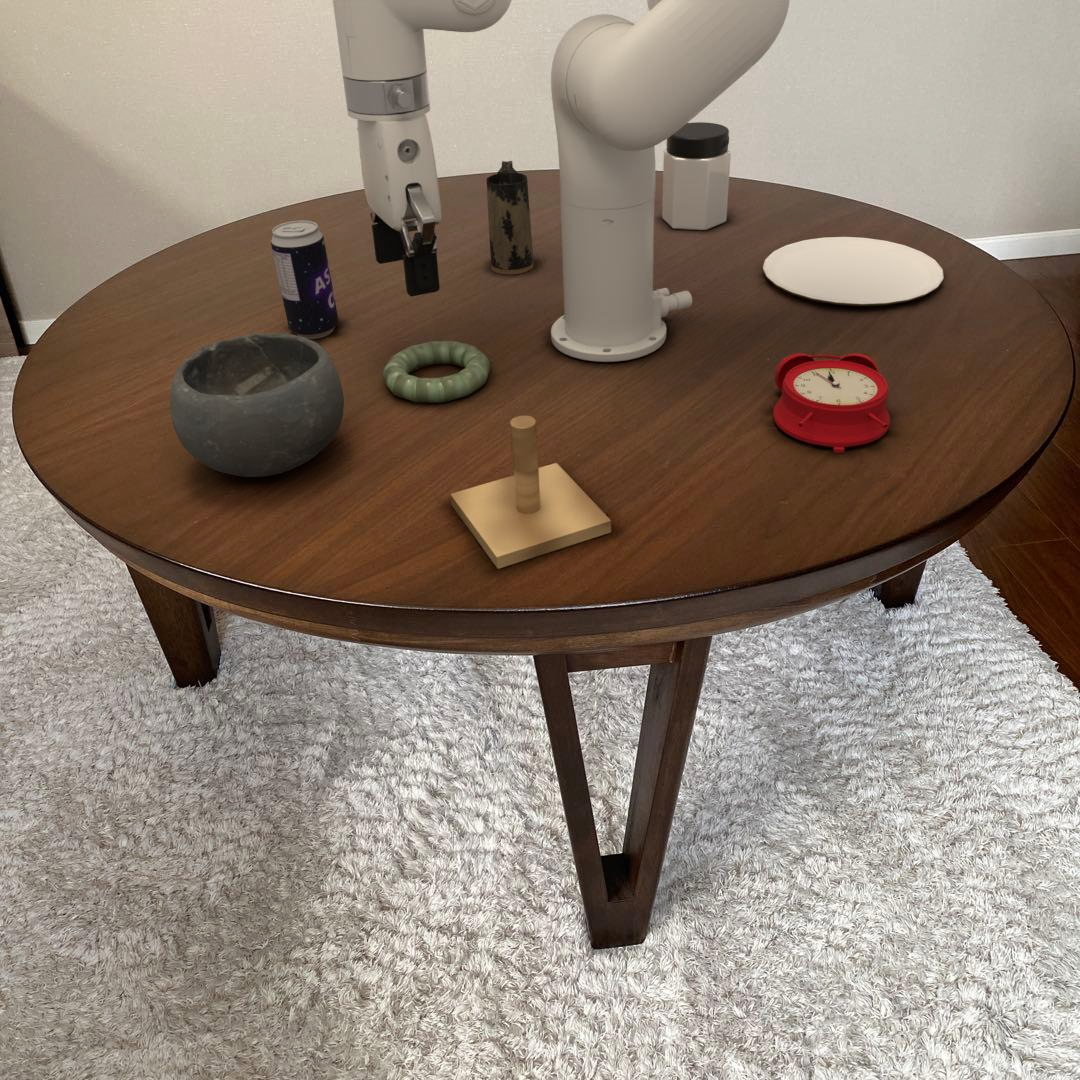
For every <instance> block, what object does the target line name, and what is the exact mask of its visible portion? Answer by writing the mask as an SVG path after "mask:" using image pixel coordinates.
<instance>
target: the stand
mask: <svg viewBox="0 0 1080 1080" xmlns="http://www.w3.org/2000/svg"><path fill="white" fill-rule="evenodd" d="M509 426H510V439H511V442H510V443H511V454H512V468H513V475H510V476H507V477H503V478H500V479H496V480H493V481H490V482H486V483H483V484H479V485H476V486H473V487H469V488H466V489H463V490H459V491H456V492H452V493H450V495H449V496H450V504H451V506H452V508H453V510H454V511H455V513H456V514H457V515H458V516H459V518H460V519H461V520H462V522H463V523H464V524H465V526H466V527H467V529H468V530H469V531H470V533H471V534H472V535H473V537H474V538H475V539H476V541H477V543H478V544H479V545H480V546H481V548H482V550H483V551H484V552H485V554H486V555H487V556H488V558H489V559H490V560H491V562H492V563H493V564H494V566H495V567H496V569H497V570H499V569H502V568H505V567H508V566H511V565H514V564H518V563H521V562H523V561H527V560H529V559H534V558H536V557H539V556H542V555H545V554H549V553H551V552H555V551H558V550H561V549H565V548H567V547H570V546H573V545H576V544H579V543H583V542H585V541H589V540H592V539H594V538H595V539H596V538H599V537H601V536H604V535H608V534H611V533H612V520H611V519H610V518H609V517H608V516H607V515H606V513H604V511H602V509H601V508H600V507H599V506H598V505H597V504H596V503H595V502H594V501H593V500H592V499H591V498H590V497H589V495H588V494H586V492H585V491H584V490H583V489H582V488H581V487H580V486H579V485H578V484H577V483H576V482H575V481H574V480H573V478H572V477H571V476H570V475H569V474H568V473H567V471H565V470H564V469H563V468H562V466H560V465H559V463H557V462H555V463H551V464H548V465H544V466H541V467H539V455H538V454H539V453H538V452H539V451H538V438H537V437H538V435H537V421H536V419H535V418H534V417H533V416H530V415H518V416H515V417H513V418H511V420H510V421H509Z"/></svg>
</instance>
